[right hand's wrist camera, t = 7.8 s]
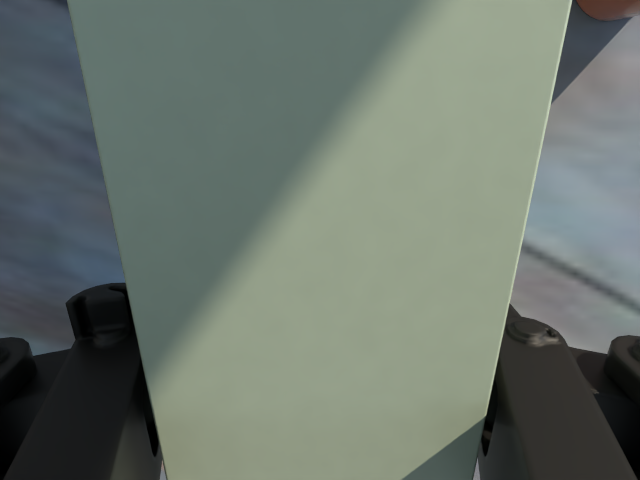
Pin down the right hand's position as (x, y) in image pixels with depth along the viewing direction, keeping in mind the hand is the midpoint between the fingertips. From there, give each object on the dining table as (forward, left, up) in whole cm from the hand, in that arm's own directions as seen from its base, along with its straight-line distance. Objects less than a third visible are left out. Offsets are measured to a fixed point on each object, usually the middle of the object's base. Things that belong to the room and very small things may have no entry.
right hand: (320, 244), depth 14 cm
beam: (+9, 0, 0) cm, 9 cm away
